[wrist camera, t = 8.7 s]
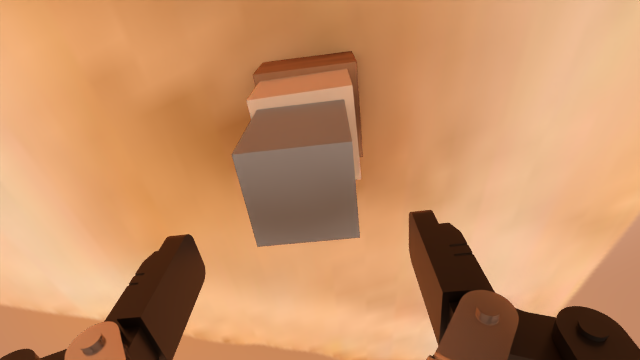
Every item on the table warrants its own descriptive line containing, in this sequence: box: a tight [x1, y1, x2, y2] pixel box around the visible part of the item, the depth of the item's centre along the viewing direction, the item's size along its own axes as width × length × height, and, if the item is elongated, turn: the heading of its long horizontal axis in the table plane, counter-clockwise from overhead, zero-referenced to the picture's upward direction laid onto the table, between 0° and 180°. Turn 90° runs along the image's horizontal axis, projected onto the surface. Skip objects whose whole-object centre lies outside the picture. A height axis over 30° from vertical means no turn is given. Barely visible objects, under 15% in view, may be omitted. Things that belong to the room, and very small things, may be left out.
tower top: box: [246, 69, 361, 180], centre depth 22 cm, size 6×6×4 cm
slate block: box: [232, 99, 360, 247], centre depth 17 cm, size 5×5×6 cm
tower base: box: [253, 51, 363, 157], centre depth 26 cm, size 7×7×4 cm
